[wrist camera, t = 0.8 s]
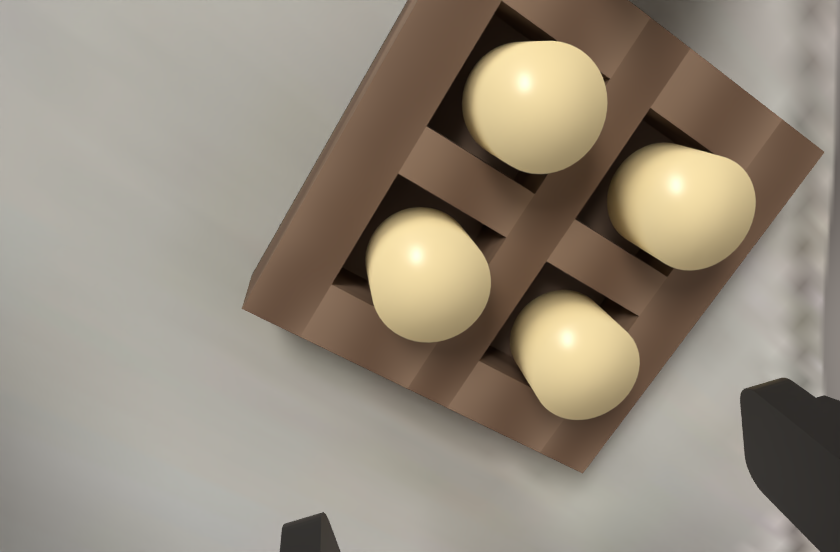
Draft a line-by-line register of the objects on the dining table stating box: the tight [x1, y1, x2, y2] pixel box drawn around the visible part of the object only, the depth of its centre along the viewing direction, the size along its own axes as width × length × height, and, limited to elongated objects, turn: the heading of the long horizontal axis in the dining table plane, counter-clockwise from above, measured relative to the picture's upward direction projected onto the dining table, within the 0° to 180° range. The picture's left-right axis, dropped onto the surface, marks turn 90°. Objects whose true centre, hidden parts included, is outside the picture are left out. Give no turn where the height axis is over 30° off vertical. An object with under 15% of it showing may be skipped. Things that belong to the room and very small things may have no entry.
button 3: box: [462, 41, 607, 174], centre depth 23 cm, size 4×4×3 cm
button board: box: [242, 0, 824, 473], centre depth 28 cm, size 17×17×4 cm
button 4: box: [607, 142, 756, 270], centre depth 25 cm, size 4×4×3 cm
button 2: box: [510, 290, 640, 420], centre depth 26 cm, size 4×4×3 cm
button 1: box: [365, 207, 491, 343], centre depth 24 cm, size 4×4×3 cm
